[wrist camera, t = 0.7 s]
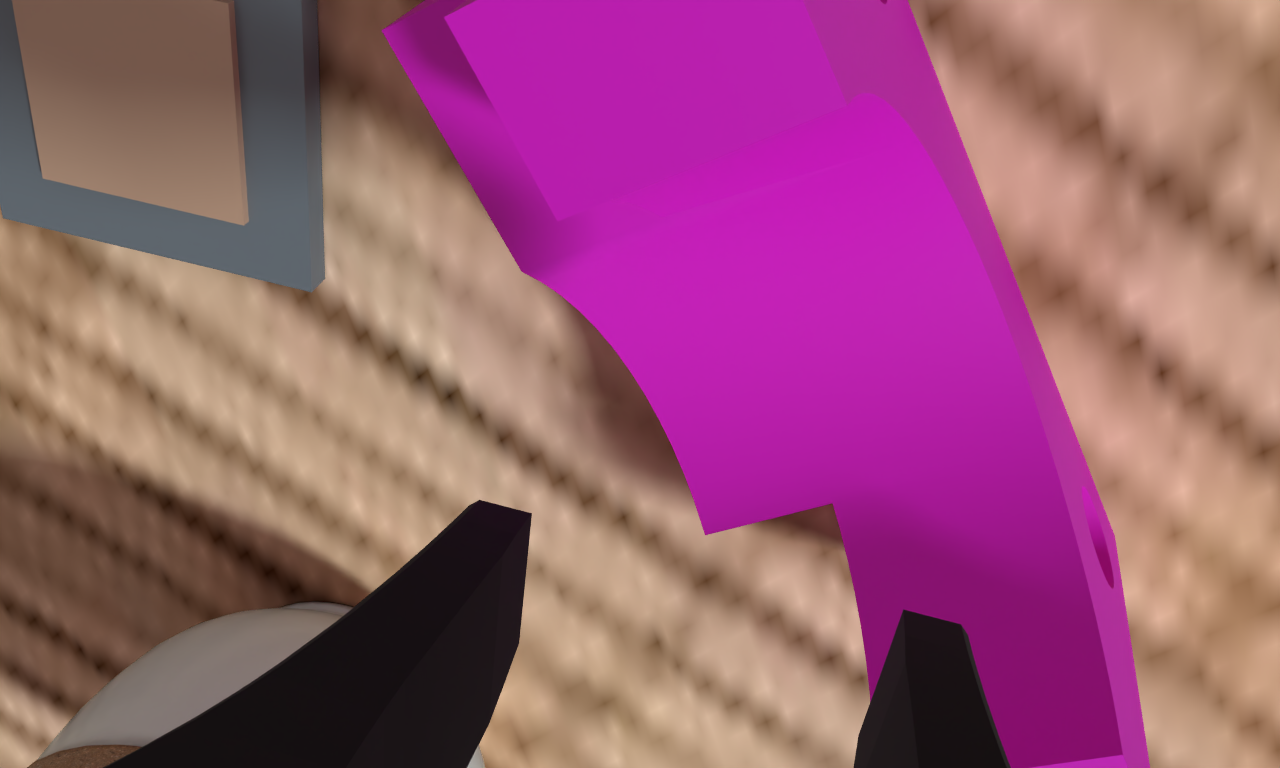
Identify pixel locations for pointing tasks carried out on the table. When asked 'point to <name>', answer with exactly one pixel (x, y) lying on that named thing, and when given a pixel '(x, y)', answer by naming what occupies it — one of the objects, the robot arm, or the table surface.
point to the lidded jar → (187, 682)
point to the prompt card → (168, 129)
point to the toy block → (807, 311)
